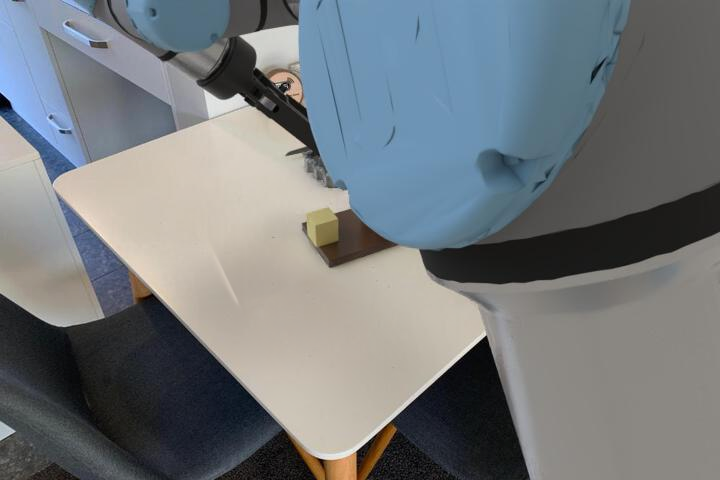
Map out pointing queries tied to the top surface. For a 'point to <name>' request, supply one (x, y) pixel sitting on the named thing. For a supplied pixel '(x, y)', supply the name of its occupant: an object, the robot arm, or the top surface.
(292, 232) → the top surface
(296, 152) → the kitchen knife
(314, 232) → the butter
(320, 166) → the egg carton
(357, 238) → the lever base
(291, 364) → the top surface
